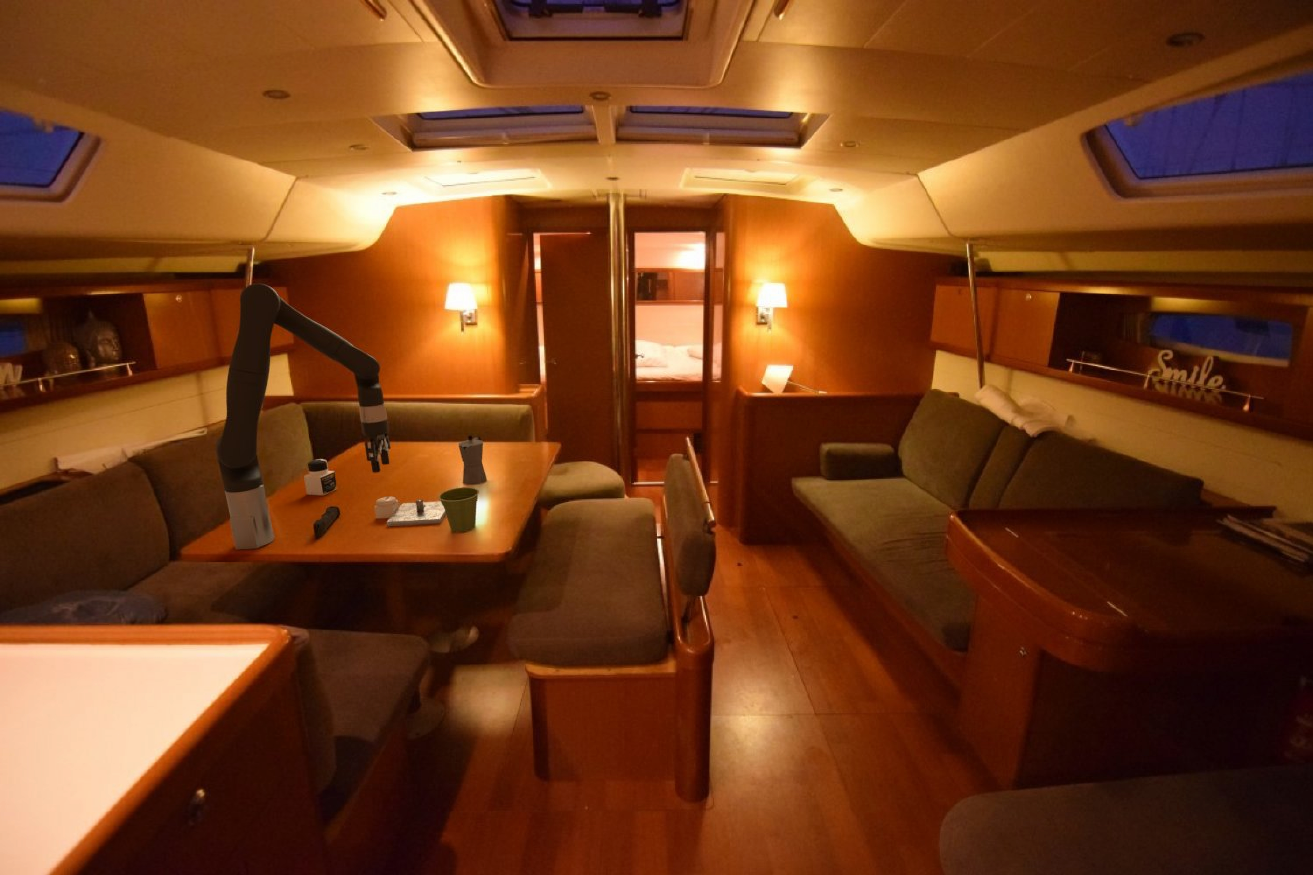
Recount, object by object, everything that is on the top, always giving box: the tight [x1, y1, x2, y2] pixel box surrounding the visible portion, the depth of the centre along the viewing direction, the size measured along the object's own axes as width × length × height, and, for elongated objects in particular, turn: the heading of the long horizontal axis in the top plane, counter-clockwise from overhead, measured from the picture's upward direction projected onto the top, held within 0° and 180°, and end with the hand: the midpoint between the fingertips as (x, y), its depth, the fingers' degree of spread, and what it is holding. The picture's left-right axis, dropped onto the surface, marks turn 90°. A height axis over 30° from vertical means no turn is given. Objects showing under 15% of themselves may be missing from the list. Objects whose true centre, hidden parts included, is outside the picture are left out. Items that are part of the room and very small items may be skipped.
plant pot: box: [438, 486, 480, 533], centre depth 180 cm, size 12×12×11 cm
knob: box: [374, 495, 400, 519], centre depth 192 cm, size 6×6×5 cm
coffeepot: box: [458, 434, 487, 486], centre depth 224 cm, size 15×9×18 cm, turn 174°
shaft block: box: [386, 499, 446, 527], centre depth 192 cm, size 16×16×5 cm
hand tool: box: [312, 505, 341, 540], centre depth 183 cm, size 19×4×5 cm, turn 11°
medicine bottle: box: [303, 458, 338, 496], centre depth 215 cm, size 7×7×12 cm
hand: (381, 468), depth 189 cm, fingers open, 8 cm apart
